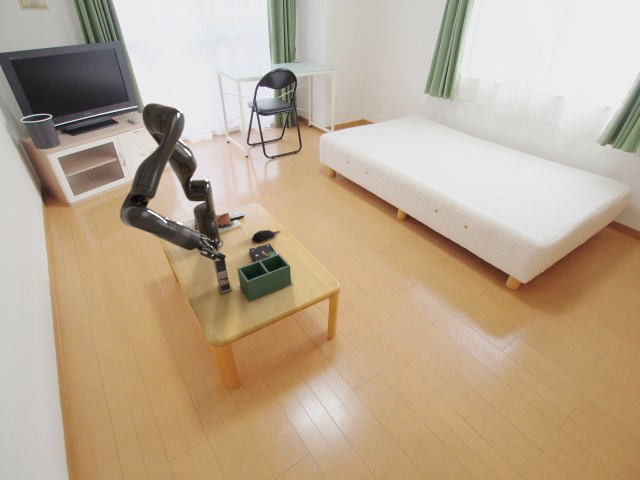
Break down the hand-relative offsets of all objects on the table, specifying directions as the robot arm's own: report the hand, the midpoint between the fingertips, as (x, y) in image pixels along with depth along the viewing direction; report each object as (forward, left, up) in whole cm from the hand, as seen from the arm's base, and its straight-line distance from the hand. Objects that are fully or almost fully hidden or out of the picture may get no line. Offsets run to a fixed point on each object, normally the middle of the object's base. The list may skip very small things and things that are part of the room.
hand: (220, 252), depth 127 cm
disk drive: (-9, +21, -18) cm, 29 cm away
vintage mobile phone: (0, -1, -18) cm, 18 cm away
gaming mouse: (-25, +29, -18) cm, 42 cm away
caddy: (+7, +14, -18) cm, 24 cm away
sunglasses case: (-49, +10, -18) cm, 54 cm away
